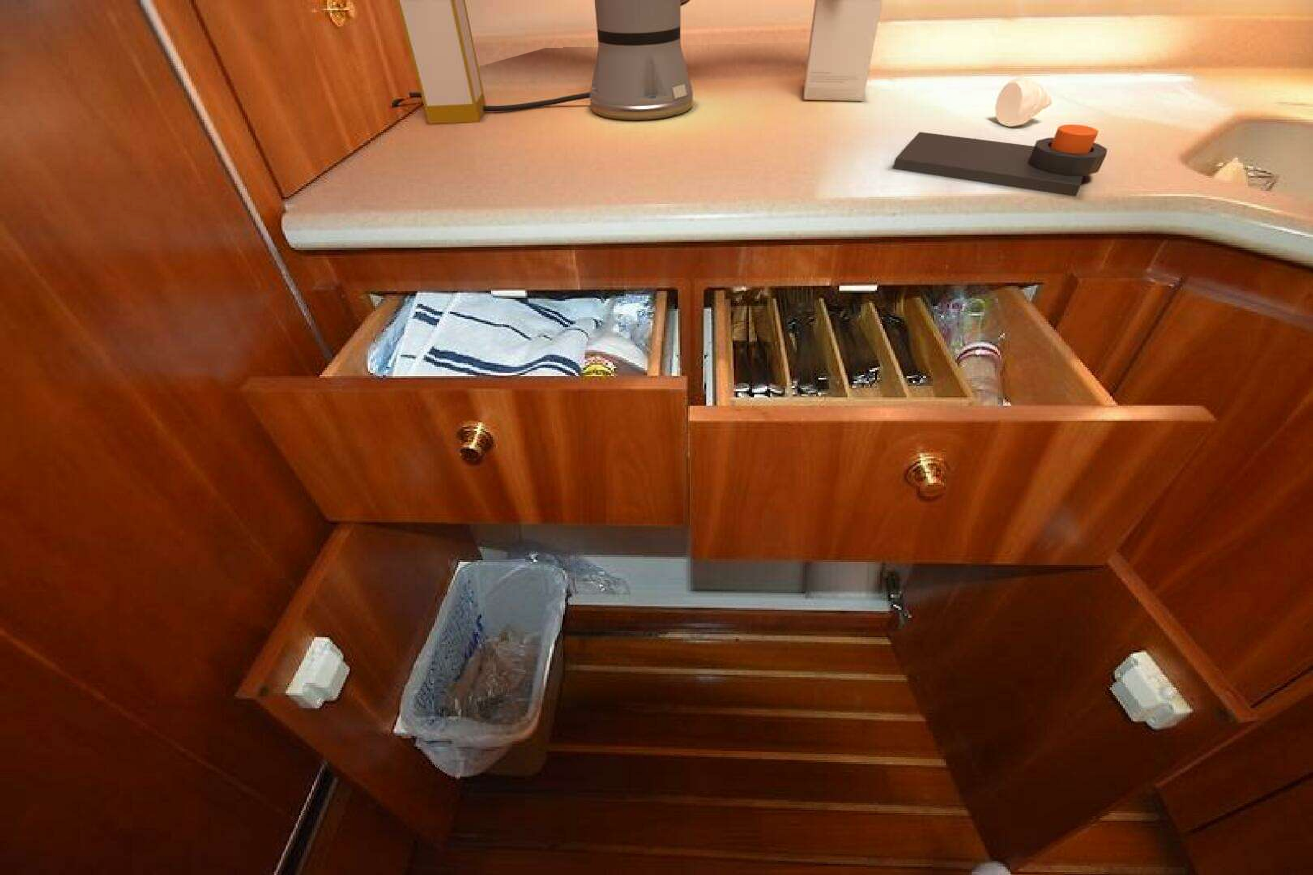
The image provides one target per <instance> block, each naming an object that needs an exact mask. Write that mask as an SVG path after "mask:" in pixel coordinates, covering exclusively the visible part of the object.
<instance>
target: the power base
mask: <svg viewBox="0 0 1313 875" xmlns="http://www.w3.org/2000/svg"><path fill="white" fill-rule="evenodd" d="M1053 139H1054V137H1046V138H1042V139H1037V140H1036V141H1035V144H1034V145H1027V144H1019V143H1012V142H1004V141H996V140H988V139H981V138H972V137H963V136H955V135H948V134H938V133H933V132H923V131H919V132H918V133H916V135H915V136H914V137H913V138H912V139H911V141H910V142H909V143H908V144H907V145H906V146H905V147H904V148H903V149H902V150H901V152H900V153H899V154H898V155H897V156H896V157H895V159H894V163H893V167H892V170H898V171H904V172H908V173H909V172H910V173H917V174H921V175H922V174H923V175H929V176H937V177H942V178H943V177H944V178H949V179H955V180H963V181H969V182H976V183H982V184H989V185H996V186H1003V187H1009V188H1014V189H1022V190H1028V191H1036V192H1041V193H1049V194H1055V195H1062V196H1068V197H1074V198H1076V197H1077V195H1078V193H1079V191H1080V188H1081V186H1082V182H1083V177H1085V176H1090V175H1093V174H1096V173H1098V172H1099V171H1100V170H1101V168H1102V165H1103V163H1104V161H1105V158H1106V156H1107V154H1108V149H1107V148H1106V147H1105V146H1102V145H1101V144H1099V143H1096V142H1094V143H1093V145H1092V148H1091V150H1090V152H1089V153H1078V154H1075V153H1067V152H1061V151H1058V150H1054V149H1052V148H1050V147H1051V144H1052V142H1053Z"/></svg>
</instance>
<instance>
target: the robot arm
mask: <svg viewBox="0 0 1313 875" xmlns="http://www.w3.org/2000/svg"><path fill="white" fill-rule="evenodd" d="M690 1H691V0H594V8H595V9H594V11H595V21H596V31H597V48H598V49H597V54H596V59H595V64H594V70H593V75H592V80H591V87H590V91H589V92H583V93H577V94H571V95H566V96H561V97H556V98H551V99H544V100H538V101H537V100H536V101H533V102H532V101H531V102H525V103H524V102H523V103H517V104H507V105H486V106H483V111H485V112H511V111H520V110H527V109H533V108H534V109H535V108H539V107H547V106H553V105H558V104H563V103H569V102H573V101H579V100H586V99H589V100H590V102H589V103H590V109H591V111H592V112H593V113H594V114H596V115H598V116H601V117H604V118H608V119H609V118H610V119H616V120H628V121H629V120H631V121H640V120H641V121H642V120H643V121H644V120H656V119H657V120H658V119H663V118H669V117H674V116H678V115H681V114H683V113H685V112H687V111H689V110H690V109H691V108H692V107H693V101H694V98H693V97H694V91H693V87H692V84H691V80H690V76H689V71H688V69H687V64H686V61H685V57H684V52H683V49H682V45H681V44H682V42H681V21H682V20H681V18H682V16H681V14H682V12H681V8H682V7H683V6H686V5H687V4H688V3H689V2H690ZM408 93H409V95H410V98H407V99H396V98H395V99H396V100H395V99H394V100H393V101H392V103H391V104H392V107H391V108H396V107H397V106H399V104H400V103H401V102H404V101H405V100H408V99H414V98H415V99H416V98H417V99H420V98H421V99H422V96H421V92H418V91H416V92H415V91H414V92H412V91H411V92H408Z"/></svg>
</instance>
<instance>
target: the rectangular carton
mask: <svg viewBox="0 0 1313 875" xmlns="http://www.w3.org/2000/svg"><path fill="white" fill-rule="evenodd" d="M882 4H883V0H814V6H813V13H812V21H811V28H810V35H809V36H810V37H809V44H808V51H807V59H806V67H805V76H804V84H803V96H802V97H803V98H802V99H803V100H805V101H806V100H808V101H809V100H810V101H840V102H841V101H846V102H848V101H850V102H863V101H864V97H865V91H866V86H867V81H868V76H869V71H870V65H871V60H872V57H873V56H872V55H873V50H874V45H875V40H876V36H877V30H878V25H879V20H880V15H881V10H882Z"/></svg>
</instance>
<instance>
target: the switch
mask: <svg viewBox="0 0 1313 875" xmlns="http://www.w3.org/2000/svg"><path fill="white" fill-rule="evenodd" d="M1098 134H1099V130H1098V129H1096V128H1094V127H1091V126H1088V125H1082V124H1061V125H1059V126H1058V127H1057V129H1056V132H1055V134H1054V137H1053V138H1054V139H1053V142H1052V144H1051V147H1050V148H1052V149H1054V150H1058V151H1061V152H1067V153H1075V154H1078V153H1089V152H1090V150H1091V148H1092V145H1093V143H1095V141H1096V139H1097V136H1098Z"/></svg>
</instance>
